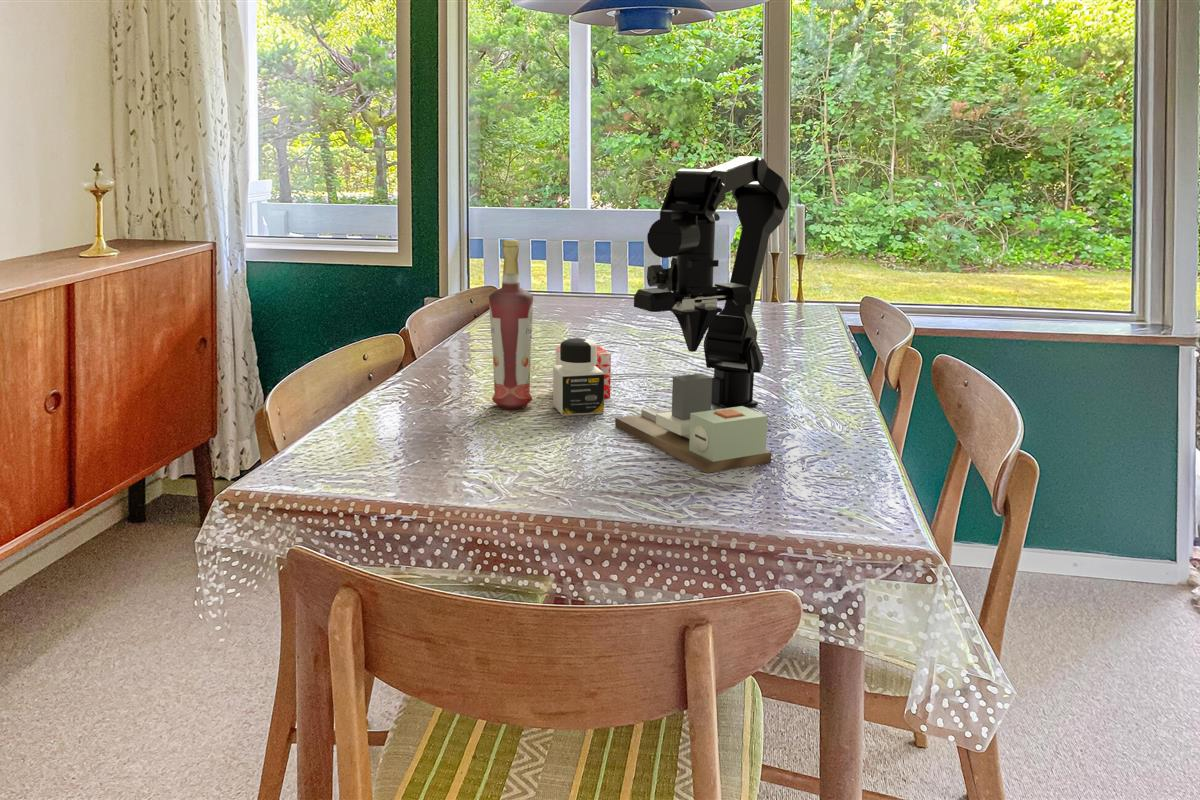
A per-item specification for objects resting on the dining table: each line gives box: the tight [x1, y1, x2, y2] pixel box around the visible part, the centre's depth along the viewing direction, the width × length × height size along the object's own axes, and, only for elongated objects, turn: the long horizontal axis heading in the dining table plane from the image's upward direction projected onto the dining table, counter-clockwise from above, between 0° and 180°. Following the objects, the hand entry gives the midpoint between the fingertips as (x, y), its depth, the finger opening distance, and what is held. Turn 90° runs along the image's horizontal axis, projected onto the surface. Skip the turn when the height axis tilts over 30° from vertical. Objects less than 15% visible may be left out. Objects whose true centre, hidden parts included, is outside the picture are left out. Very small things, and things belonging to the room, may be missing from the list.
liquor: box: [488, 239, 534, 411], centre depth 175 cm, size 7×7×28 cm
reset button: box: [715, 409, 743, 419], centre depth 148 cm, size 3×3×4 cm
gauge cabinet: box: [689, 406, 769, 462], centre depth 149 cm, size 9×6×6 cm, turn 118°
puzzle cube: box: [555, 344, 612, 399], centre depth 187 cm, size 8×8×8 cm
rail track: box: [614, 407, 772, 474], centre depth 158 cm, size 11×26×2 cm, turn 28°
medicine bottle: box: [552, 337, 605, 417], centre depth 175 cm, size 7×7×12 cm
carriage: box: [656, 372, 713, 439], centre depth 156 cm, size 8×7×8 cm
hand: (692, 351), depth 166 cm, fingers closed
